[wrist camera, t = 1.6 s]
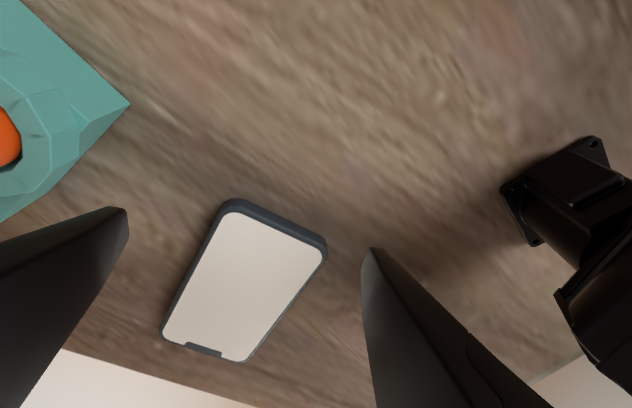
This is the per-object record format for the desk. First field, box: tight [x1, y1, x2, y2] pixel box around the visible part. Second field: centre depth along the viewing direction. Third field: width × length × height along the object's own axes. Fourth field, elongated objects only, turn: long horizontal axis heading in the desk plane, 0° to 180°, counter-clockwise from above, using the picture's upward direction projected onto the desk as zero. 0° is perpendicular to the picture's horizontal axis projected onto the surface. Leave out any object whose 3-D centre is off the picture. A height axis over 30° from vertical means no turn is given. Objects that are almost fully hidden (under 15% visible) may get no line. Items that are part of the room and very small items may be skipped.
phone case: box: [159, 199, 328, 363], centre depth 25 cm, size 9×2×16 cm
